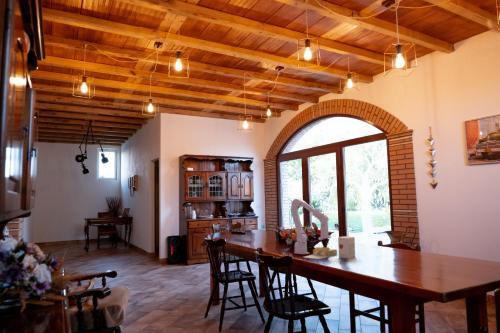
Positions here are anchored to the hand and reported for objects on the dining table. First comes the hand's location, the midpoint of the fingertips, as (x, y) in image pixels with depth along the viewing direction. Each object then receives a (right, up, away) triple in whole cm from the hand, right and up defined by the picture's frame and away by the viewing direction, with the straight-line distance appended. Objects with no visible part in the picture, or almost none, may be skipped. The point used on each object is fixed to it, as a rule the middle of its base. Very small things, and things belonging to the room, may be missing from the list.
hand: (325, 248), depth 279 cm
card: (-3, -1, -3) cm, 4 cm away
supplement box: (+13, -4, -14) cm, 20 cm away
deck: (0, -5, -1) cm, 5 cm away
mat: (-9, -4, -10) cm, 14 cm away
